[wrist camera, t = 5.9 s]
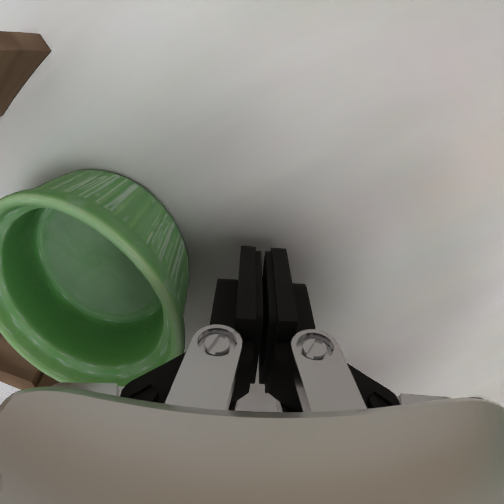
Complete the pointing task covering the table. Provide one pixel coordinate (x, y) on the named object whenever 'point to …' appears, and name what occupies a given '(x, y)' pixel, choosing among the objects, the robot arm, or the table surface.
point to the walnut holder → (3, 92)
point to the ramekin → (91, 278)
